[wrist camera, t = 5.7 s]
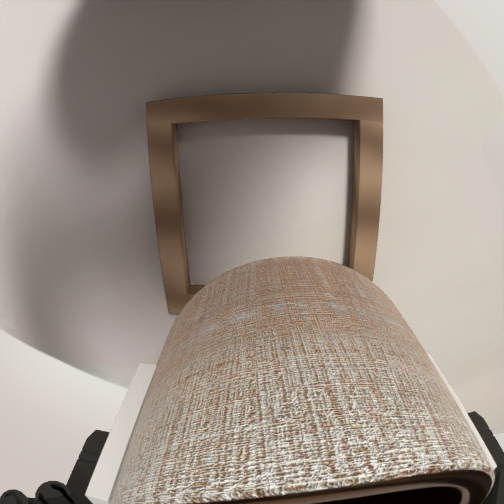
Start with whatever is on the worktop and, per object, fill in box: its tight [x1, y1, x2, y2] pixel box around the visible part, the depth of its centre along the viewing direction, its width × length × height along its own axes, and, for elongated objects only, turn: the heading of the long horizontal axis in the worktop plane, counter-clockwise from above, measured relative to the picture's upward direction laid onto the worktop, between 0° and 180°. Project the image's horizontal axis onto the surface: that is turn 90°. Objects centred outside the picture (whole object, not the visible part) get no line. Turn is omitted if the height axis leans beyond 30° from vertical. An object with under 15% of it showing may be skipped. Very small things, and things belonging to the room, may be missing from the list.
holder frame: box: [146, 93, 383, 313], centre depth 27 cm, size 19×19×2 cm
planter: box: [110, 257, 495, 504], centre depth 10 cm, size 11×11×10 cm
